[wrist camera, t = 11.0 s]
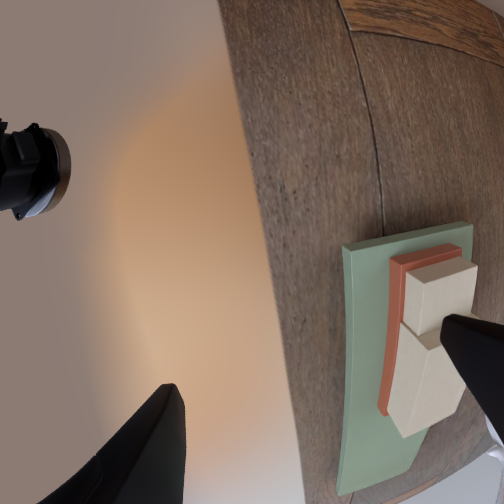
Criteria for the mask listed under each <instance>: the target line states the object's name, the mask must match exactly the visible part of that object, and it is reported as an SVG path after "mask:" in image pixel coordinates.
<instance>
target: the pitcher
mask: <svg viewBox="0 0 504 504" xmlns="http://www.w3.org/2000/svg"><path fill="white" fill-rule="evenodd" d="M485 417H486V423H487V426H488V429H489V432H490V434H491V436H492V438H493V439H494V441H495V443H496V444H497V445H498V446H497V447H494V448H492V449H491V450H489V451H488V452H487V454H488V455H491V456H494V457H497V458H498V459H499V460H500V462H501V465H502V475H501V482H500V487H499V492H498V495H497V500H496V504H504V445H503V443H502V442H501V440H500V438H499V436H498V434H497V433H496V431H495V429H494V428H493V426H492V424H491V423H490V421H489V419H488V418H487V416H486V414H485Z"/></svg>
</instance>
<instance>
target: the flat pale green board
mask: <svg viewBox="0 0 504 504" xmlns="http://www.w3.org/2000/svg"><path fill="white" fill-rule="evenodd" d="M447 243H451V244H453V245H456V246H458V247H460V248H462V258H463V259H466V260H468V261H470V262H471V258H472V244H473V224H470V223H467V222H464V221H458V222H453V223H448V224H443V225H439V226H434V227H429V228H424V229H419V230H414V231H409V232H405V233H400V234H395V235H390V236H385V237H380V238H375V239H370V240H365V241H360V242H355V243H350V244H344V245H342V254H343V268H344V272H343V275H344V296H345V312H346V375H345V400H344V417H343V430H342V442H341V452H340V461H339V467H338V477H337V484H336V491H337V494H338V496H341V495H345V494H348V493H351V492H354V491H357V490H360V489H363V488H366V487H369V486H372V485H375V484H377V483H380V482H382V481H385V480H387V479H390V478H392V477H395V476H397V475H399V474H402V473H404V472H406V471H408V470H409V468H410V466H411V464H412V462H413V460H414V458H415V456H416V454H417V452H418V450H419V448H420V446H421V444H422V442H423V440H424V438H425V436H426V433H427V431H428V429H429V427H430V426H429V427H427V428H425V429H423V430H421V431H419V432H417V433H415V434H412V435H410V436H408V437H406V438H403V437H402V436H401V434H400V432H399V430H398V429H397V427H396V425H395V424H394V422H393V420H392V418H391V417H390V415H388V416H385V417H383V416H382V414H381V412H380V410H379V408H378V407H377V405H378V400H379V394H380V387H381V381H382V374H383V366H384V357H385V348H386V337H387V325H388V309H389V277H390V257H394V256H398V255H403V254H407V253H411V252H415V251H419V250H423V249H427V248H431V247H435V246H439V245H443V244H447Z"/></svg>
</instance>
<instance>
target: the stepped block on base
mask: <svg viewBox="0 0 504 504" xmlns="http://www.w3.org/2000/svg"><path fill="white" fill-rule="evenodd" d="M477 269H478V265H476V264H474V263H472V262H470V261H468V260H466V259H463V258H462V248H460V247H458V246H456V245H453V244H451V243H447V244H443V245H439V246H435V247H431V248H427V249H423V250H419V251H415V252H411V253H407V254H403V255H398V256H394V257H390V277H389V309H388V325H387V337H386V348H385V357H384V366H383V374H382V381H381V387H380V394H379V400H378V405H377V407H378V408H379V410H380V412H381V414H382V416H383V417H385V416H388V415H390V417H391V418H392V420H393V422H394V424H395V425H396V427H397V429H398V430H399V432H400V434H401V436H402V437H403V438H406V437H408V436H410V435H412V434H415V433H417V432H419V431H421V430H423V429H425V428H427V427H429V426H431V425H433V424H435V423H437V422H439V421H441V420H442V419H444V418H446V417H448V416H450V415H452V414H453V413H455V411H456V408H457V406H458V404H459V402H460V399H461V397H462V394H463V392H464V389H465V387H466V384H465V382H464V381H463V379H462V378H461V376H460V375H459V373H458V372H457V370H456V368H455V366H454V365H453V363H452V361H451V359H450V358H449V356H448V354H447V352H446V351H445V349H444V347H443V346H442V344H441V342H440V332H441V327H442V321H443V319H444V317H445V316H448V315H450V314H458V315H462V316H467V317H471V318H475V319H479V318H478V317H476V316H475V315H474V314H472V313H471V309H472V303H473V298H474V291H475V285H476V277H477ZM479 320H481V319H479Z"/></svg>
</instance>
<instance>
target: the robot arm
mask: <svg viewBox="0 0 504 504" xmlns="http://www.w3.org/2000/svg"><path fill="white" fill-rule="evenodd" d="M1 120H2V119H1V118H0V211H3V210H6V209H10V208H11V209H12V212H13V214H14V216H15V218H16V220H17V221H20V220H22V219H23V218H24V217H25V216H26V215H27V214H28V213H29V212H30V211H31V210H32V209H33V208H34V207H35V206H36V205H37V204H38V203H39V202H40V201H41V200H42V199H43V198H44V197H45V196H46V195H47V194H48V193H49V192H50V191H51V190H53V189H54V188H55V187H56V186H57V185H58V184H59V183H60V175H59V173H58V171H57V168H56V166H55V164H54V162H53V156H52V154H51V152H50V149H49V147H48V144H47V142H46V139H45V137H44V135H43V134H42V132H41V130H40V127H39V125H38V123H32V124H31V125H30V126H29V127H28V128H27V129H26V130H25V131H24V132H15V131H14V132H12V134H7V133H4V132H5V130H6V128H7V124H8V122H1ZM34 127H35V128H34ZM33 128H34V130H33ZM54 177H55V178H56V181H55V182H54ZM19 214H20V217H19ZM440 342H441V344H442V346H443V347H444V349H445V351H446V352H447V354H448V356H449V358H450V359H451V361H452V363H453V365H454V366H455V368H456V370H457V372H458V373H459V375H460V376H461V378H462V379H463V381H464V382H465V384H466V385H467V387H468V388H469V390H470V391H471V393H472V394H473V396H474V397H475V399H476V400H477V402H478V403H479V405H480V406H481V408H482V410H483V411H484V413H485V414H486V416H487V418H488V419H489V421H490V423H491V424H492V426H493V428H494V429H495V431H496V433H497V434H498V436H499V438H500V440H501V442H502V443H503V445H504V325H501V324H497V323H492V322H488V321H484V320H479V319H475V318H471V317H467V316H462V315H458V314H450V315H448V316H445V317H444V319H443V321H442V327H441V332H440ZM185 459H186V427H185V405H184V401H183V399H182V397H181V395H180V393H179V390H178V388H177V386H176V385H175V384H173V383H170V384H162V385H161V386H160V387H159V388H158V389H157V390H156V391H155V392H154V393H153V394H152V395H151V396H150V397H149V398H148V400H147V401H146V402H145V403H144V404H143V405H142V406H141V407H140V408H139V409H138V410H137V411H136V412H135V414H134V415H133V416H132V417H131V418H130V419H129V420H128V421H127V422H126V423H125V424H124V425H123V426H122V427H121V428H120V429H119V430H118V431H117V433H115V435H114V436H113V437H112V438H111V439H110V440H109V441H108V442H107V443H106V444H105V445H104V446H103V447H102V448H101V449H100V450H99V451H98V452H97V453H96V456H93V457H92V458H91V459H90V461H88V462H87V463H86V464H85V465H84V466H83V467H82V468H81V469H80V470H79V471H78V472H77V473H76V474H75V475H73V476H72V477H71V478H70V479H69V480H67V481H66V482H65V483H64V484H63V485H61V486H60V487H59V488H58V489H56V490H55V491H54V492H52V493H51V494H50V495H48V496H47V497H46V498H44V499H43V500H42V501H40V502H39V503H37V504H183V487H184V474H185V461H186V460H185Z"/></svg>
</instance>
